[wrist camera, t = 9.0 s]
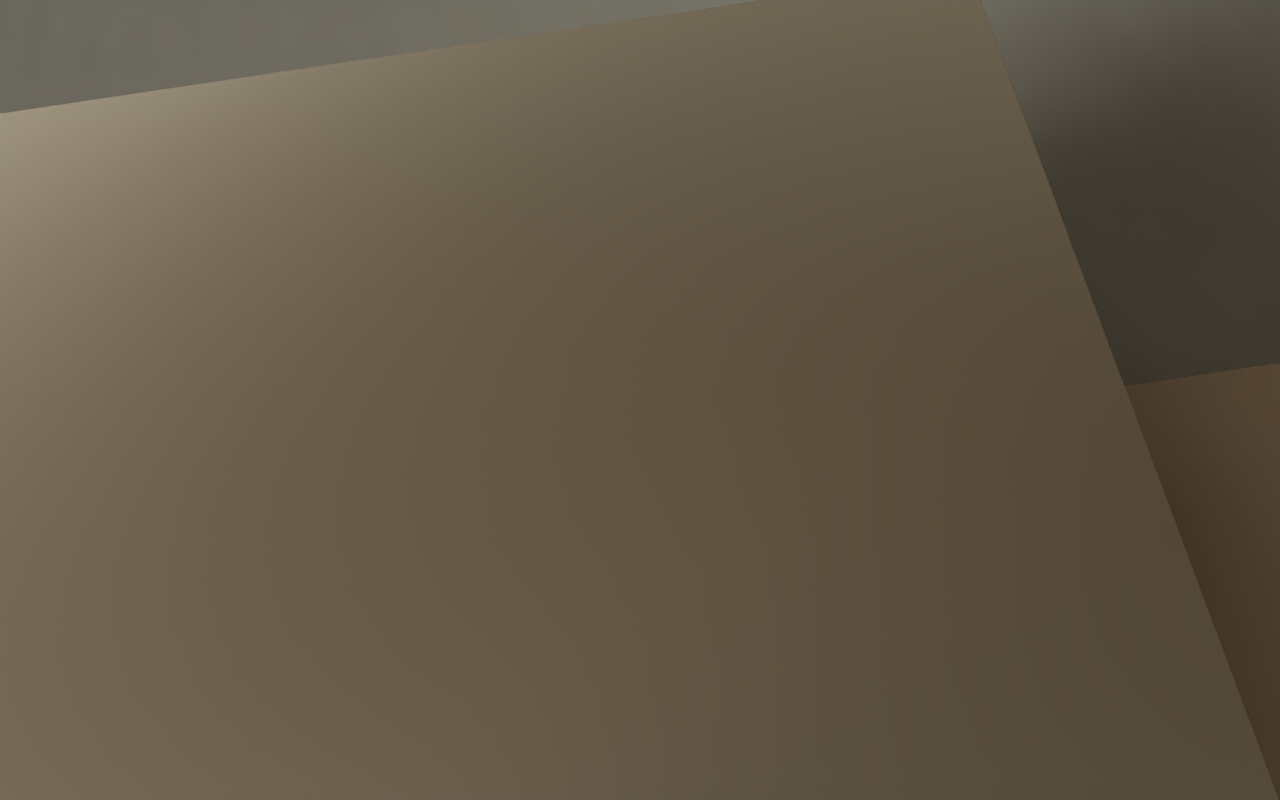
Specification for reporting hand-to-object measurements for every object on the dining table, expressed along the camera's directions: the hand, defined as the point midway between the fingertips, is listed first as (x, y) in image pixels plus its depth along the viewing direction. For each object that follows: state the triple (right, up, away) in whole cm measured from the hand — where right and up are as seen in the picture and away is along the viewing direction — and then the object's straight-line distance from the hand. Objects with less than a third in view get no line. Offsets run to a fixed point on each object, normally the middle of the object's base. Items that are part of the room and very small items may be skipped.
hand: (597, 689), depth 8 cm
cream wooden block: (+1, -4, +5) cm, 7 cm away
